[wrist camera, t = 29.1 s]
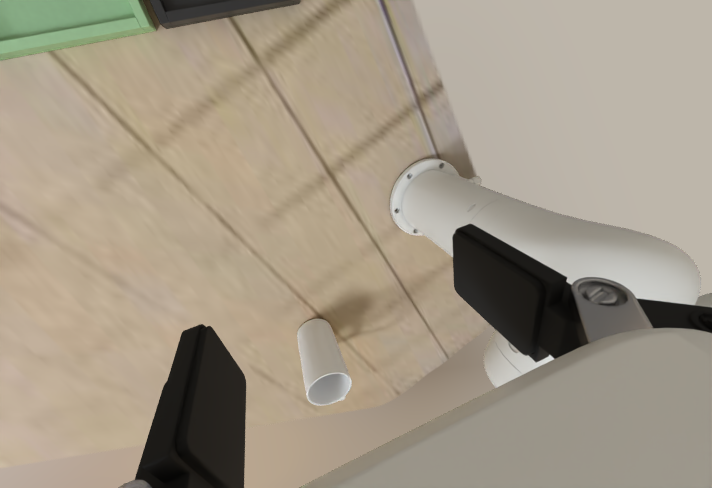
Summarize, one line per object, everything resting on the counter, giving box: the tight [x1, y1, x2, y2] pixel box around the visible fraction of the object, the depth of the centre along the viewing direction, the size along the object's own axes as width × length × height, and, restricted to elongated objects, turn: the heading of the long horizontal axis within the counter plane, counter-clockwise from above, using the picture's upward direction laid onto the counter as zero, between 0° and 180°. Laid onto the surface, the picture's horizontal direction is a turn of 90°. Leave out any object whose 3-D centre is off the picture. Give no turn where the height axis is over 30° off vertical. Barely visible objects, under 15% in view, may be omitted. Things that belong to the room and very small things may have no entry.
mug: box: [297, 319, 352, 405], centre depth 46 cm, size 10×7×12 cm, turn 24°
